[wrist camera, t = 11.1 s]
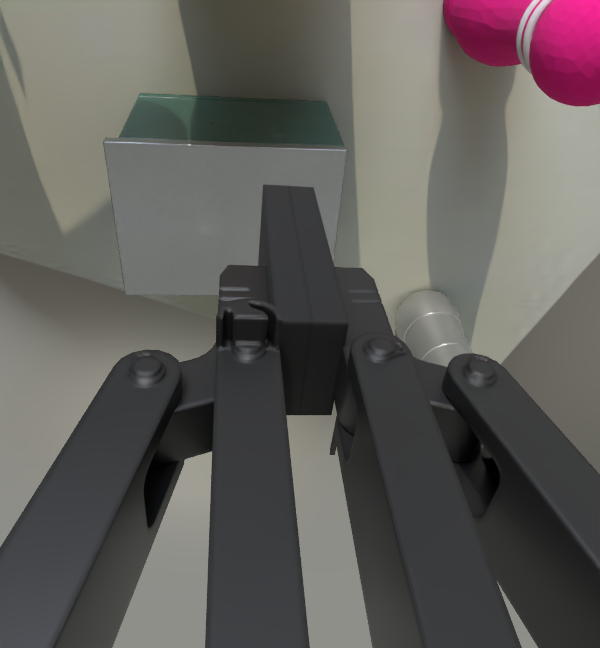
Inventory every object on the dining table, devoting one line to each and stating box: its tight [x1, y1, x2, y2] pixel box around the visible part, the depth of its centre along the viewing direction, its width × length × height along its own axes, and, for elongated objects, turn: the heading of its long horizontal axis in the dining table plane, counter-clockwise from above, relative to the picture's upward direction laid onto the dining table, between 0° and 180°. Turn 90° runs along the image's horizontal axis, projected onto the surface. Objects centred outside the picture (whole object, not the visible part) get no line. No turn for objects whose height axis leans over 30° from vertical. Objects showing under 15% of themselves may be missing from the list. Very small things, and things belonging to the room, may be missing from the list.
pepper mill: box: [443, 0, 600, 106], centre depth 33 cm, size 7×7×20 cm
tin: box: [119, 93, 345, 146], centre depth 44 cm, size 15×12×10 cm
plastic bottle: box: [395, 290, 473, 367], centre depth 51 cm, size 6×7×20 cm
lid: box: [103, 138, 347, 296], centre depth 39 cm, size 15×12×1 cm
